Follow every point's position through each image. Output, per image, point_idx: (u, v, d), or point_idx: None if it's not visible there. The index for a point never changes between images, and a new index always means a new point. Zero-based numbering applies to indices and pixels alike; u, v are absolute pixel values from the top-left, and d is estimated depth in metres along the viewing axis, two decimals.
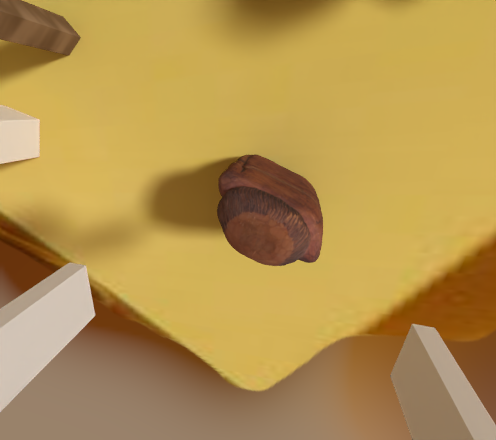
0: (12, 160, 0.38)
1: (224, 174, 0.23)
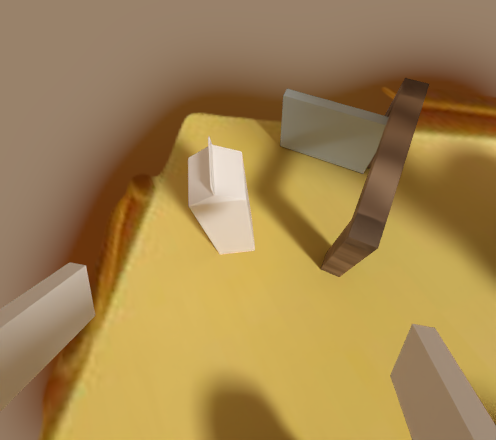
0: (216, 246, 0.40)
1: None
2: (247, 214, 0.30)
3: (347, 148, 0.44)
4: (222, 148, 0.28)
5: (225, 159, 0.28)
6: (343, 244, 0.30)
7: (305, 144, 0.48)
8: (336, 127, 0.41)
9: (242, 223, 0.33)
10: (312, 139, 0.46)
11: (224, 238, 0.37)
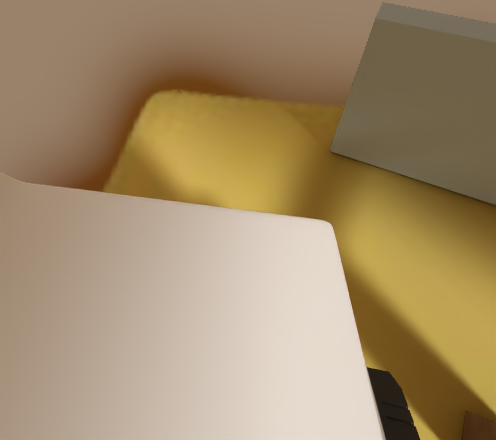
0: None
1: None
2: None
3: None
4: (162, 217, 0.03)
5: (193, 373, 0.02)
6: None
7: (390, 149, 0.22)
8: None
9: None
10: (415, 137, 0.20)
11: None
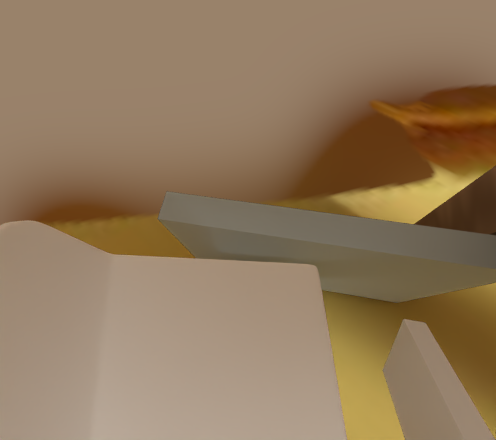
0: None
1: None
2: None
3: (363, 284, 0.18)
4: (197, 272, 0.04)
5: (218, 377, 0.03)
6: None
7: None
8: (335, 264, 0.14)
9: None
10: None
11: None
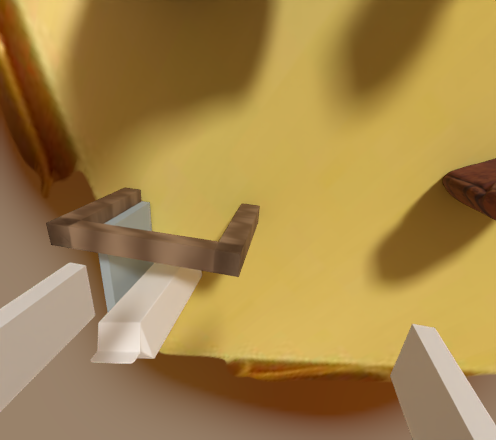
0: (194, 288, 0.47)
1: None
2: (155, 303, 0.35)
3: None
4: (99, 341, 0.33)
5: (108, 339, 0.33)
6: (242, 263, 0.33)
7: (146, 265, 0.49)
8: (123, 263, 0.41)
9: (165, 295, 0.38)
10: (140, 265, 0.47)
11: (184, 292, 0.43)
